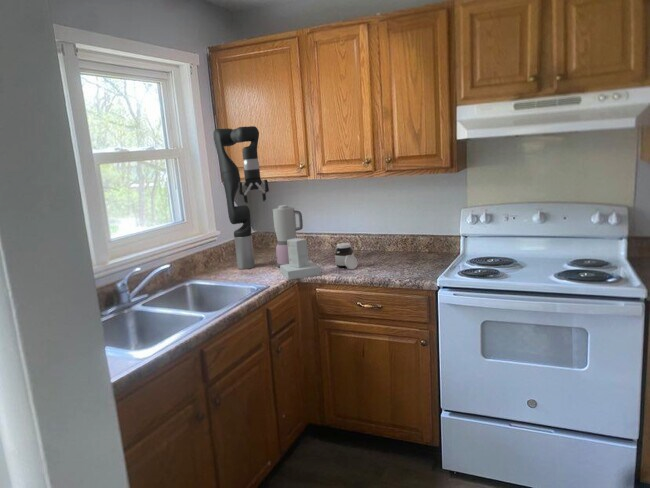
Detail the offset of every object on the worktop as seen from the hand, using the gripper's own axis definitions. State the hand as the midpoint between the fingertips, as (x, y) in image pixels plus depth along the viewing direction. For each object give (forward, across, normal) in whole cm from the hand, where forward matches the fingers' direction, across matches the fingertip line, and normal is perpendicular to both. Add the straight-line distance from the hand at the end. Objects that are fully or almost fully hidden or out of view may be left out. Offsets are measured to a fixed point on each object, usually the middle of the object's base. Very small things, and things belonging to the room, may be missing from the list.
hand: (255, 202), depth 239 cm
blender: (+36, -17, -7) cm, 41 cm away
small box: (+32, -16, +12) cm, 38 cm away
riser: (+36, -16, +13) cm, 42 cm away
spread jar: (+36, -40, +15) cm, 56 cm away
